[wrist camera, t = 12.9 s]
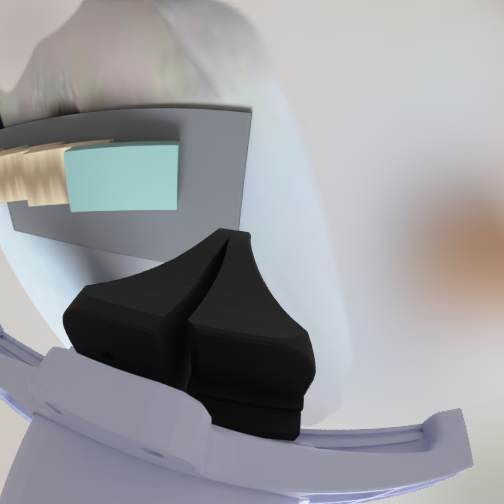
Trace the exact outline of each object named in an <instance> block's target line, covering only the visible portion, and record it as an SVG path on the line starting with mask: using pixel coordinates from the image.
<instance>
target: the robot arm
mask: <svg viewBox="0 0 504 504" xmlns="http://www.w3.org/2000/svg"><path fill="white" fill-rule="evenodd" d="M250 240H251V235H250V233H249V232H243V231H237V230H231V229H224V228H219V229H217V230H216V231H215V232H213V233H212V234H210V235H209V236H208V237H206V238H205V239H204V240H202V241H201V242H199V243H198V244H197V245H195V246H194V247H192V248H191V249H189V250H187V251H186V252H184V253H182V254H181V255H179V256H177V257H176V258H174V259H172V260H170V261H168V262H166V263H164V264H162V265H159V266H157V267H155V268H152V269H149V270H147V271H144V272H141V273H139V274H136V275H133V276H129V277H126V278H122V279H118V280H114V281H110V282H104V283H99V284H93V285H87V286H85V287H84V288H83V289H82V290H81V292H80V293H79V294H78V295H77V297H76V298H75V299H74V300H73V302H72V303H71V304H70V305H69V307H68V308H67V309H66V311H65V312H64V314H63V326H64V328H65V331H66V334H67V335H68V337H69V339H70V341H71V343H72V345H73V347H72V346H71V348H70V349H69V350H68V349H64V348H60V347H53V348H52V349H50V350H49V352H48V353H47V354H46V356H43V355H41V354H39V353H38V352H35V351H34V350H32V349H30V348H29V347H27V346H25V345H24V344H22V343H20V342H19V341H17V340H16V339H14V338H13V337H11V336H9V335H8V334H6V333H5V332H4V331H3V328H2V327H1V325H0V399H2V400H3V401H4V402H5V403H6V404H7V405H9V406H10V407H11V408H12V409H13V410H15V411H16V412H17V413H18V414H20V415H21V416H22V417H24V418H25V419H26V420H28V421H29V422H30V423H31V424H30V426H29V428H28V430H27V432H26V434H25V436H24V438H23V440H22V443H21V445H20V447H19V449H18V452H17V454H16V457H15V459H14V461H13V464H12V466H11V469H10V471H9V474H8V477H7V480H6V482H5V485H4V488H3V491H2V494H1V497H0V504H357V503H363V502H369V501H375V500H380V499H385V498H389V497H394V496H398V495H402V494H406V493H410V492H414V491H417V490H421V489H424V488H428V487H431V486H433V485H435V484H437V483H440V482H442V481H445V480H447V479H449V478H451V477H453V476H455V475H457V474H459V473H461V472H463V471H465V470H467V469H469V468H471V467H472V466H473V459H472V454H471V449H470V444H469V439H468V434H467V430H466V426H465V422H464V418H463V414H462V411H461V409H459V408H458V409H453V410H448V411H442V412H438V413H436V414H434V415H432V416H430V417H429V418H428V419H426V420H425V421H424V422H423V424H417V425H410V426H401V427H391V428H378V429H360V430H316V429H300V422H301V411H302V410H303V406H304V395H305V393H306V392H307V390H308V388H309V387H310V385H311V383H312V381H313V380H314V376H315V373H316V366H315V358H314V353H313V349H312V344H311V341H310V338H309V335H308V332H307V331H306V330H305V329H304V328H302V327H301V326H300V325H299V324H298V323H297V322H296V321H294V320H293V319H292V318H291V317H290V316H289V315H288V314H287V313H286V312H285V311H284V310H283V308H282V307H281V306H280V304H279V303H278V302H277V301H276V299H275V298H274V297H273V295H272V294H271V292H270V291H269V289H268V287H267V286H266V284H265V282H264V280H263V278H262V276H261V274H260V272H259V270H258V267H257V265H256V262H255V259H254V256H253V252H252V248H251V241H250Z"/></svg>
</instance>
